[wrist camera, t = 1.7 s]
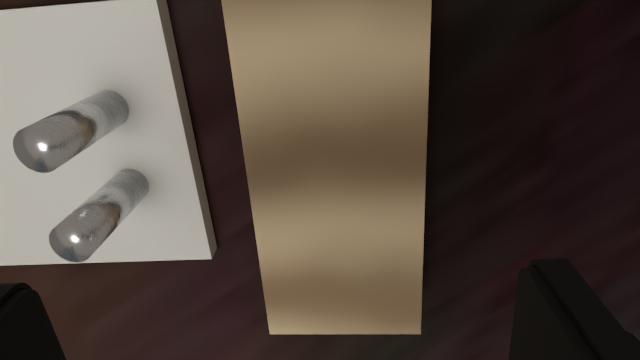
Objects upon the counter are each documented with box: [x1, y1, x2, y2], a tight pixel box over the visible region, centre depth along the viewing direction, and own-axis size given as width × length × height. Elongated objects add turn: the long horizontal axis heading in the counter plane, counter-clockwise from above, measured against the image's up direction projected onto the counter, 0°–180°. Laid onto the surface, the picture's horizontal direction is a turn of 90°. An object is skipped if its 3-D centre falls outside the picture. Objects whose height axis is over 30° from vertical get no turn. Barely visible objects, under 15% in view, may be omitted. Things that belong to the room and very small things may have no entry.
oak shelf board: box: [221, 0, 432, 334], centre depth 19 cm, size 18×7×4 cm, turn 4°
